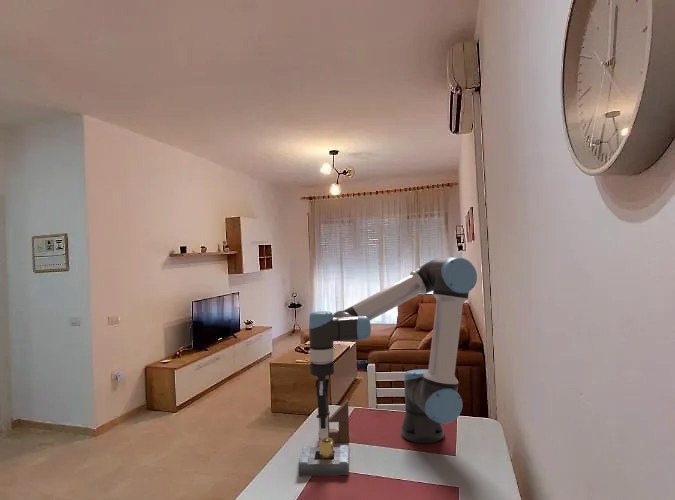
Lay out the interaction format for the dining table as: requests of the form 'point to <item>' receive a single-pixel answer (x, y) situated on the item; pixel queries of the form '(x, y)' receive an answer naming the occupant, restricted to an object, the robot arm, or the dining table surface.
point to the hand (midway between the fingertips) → (323, 437)
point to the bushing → (326, 449)
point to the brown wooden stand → (343, 420)
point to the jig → (324, 462)
